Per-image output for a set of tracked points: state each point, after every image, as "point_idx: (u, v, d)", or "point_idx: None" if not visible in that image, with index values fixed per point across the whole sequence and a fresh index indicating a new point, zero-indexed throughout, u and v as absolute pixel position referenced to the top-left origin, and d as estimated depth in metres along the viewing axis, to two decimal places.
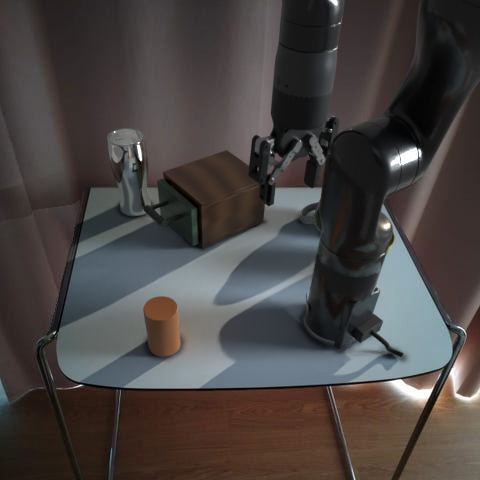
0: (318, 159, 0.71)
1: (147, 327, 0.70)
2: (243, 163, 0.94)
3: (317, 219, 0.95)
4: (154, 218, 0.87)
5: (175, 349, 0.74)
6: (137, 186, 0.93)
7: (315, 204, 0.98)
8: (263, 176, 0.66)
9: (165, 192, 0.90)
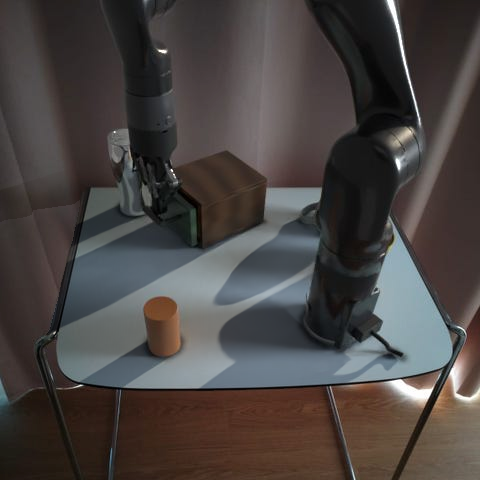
0: (153, 189, 0.83)
1: (147, 327, 0.70)
2: (243, 163, 0.94)
3: (317, 219, 0.95)
4: (153, 219, 0.87)
5: (175, 349, 0.74)
6: (138, 186, 0.93)
7: (315, 204, 0.98)
8: (144, 179, 0.85)
9: None
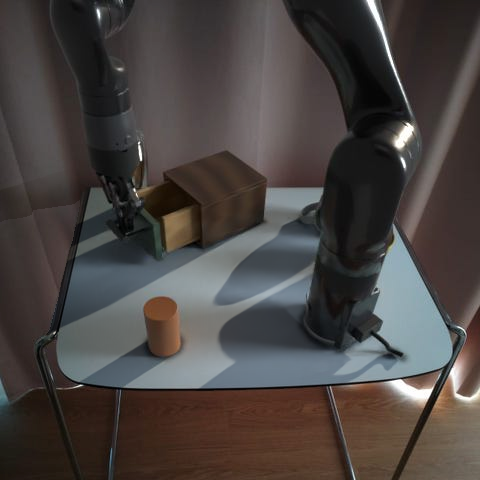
0: (117, 208, 0.81)
1: (147, 327, 0.70)
2: (243, 163, 0.94)
3: (317, 219, 0.95)
4: (115, 233, 0.84)
5: (175, 349, 0.74)
6: (138, 186, 0.93)
7: (315, 204, 0.98)
8: (108, 197, 0.83)
9: None
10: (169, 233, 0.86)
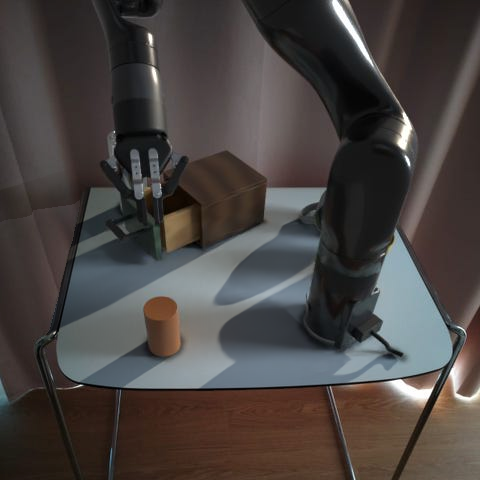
0: None
1: (147, 327, 0.70)
2: (243, 163, 0.94)
3: (317, 219, 0.95)
4: (115, 233, 0.84)
5: (175, 349, 0.74)
6: None
7: (315, 204, 0.98)
8: None
9: (128, 206, 0.86)
10: (169, 234, 0.86)
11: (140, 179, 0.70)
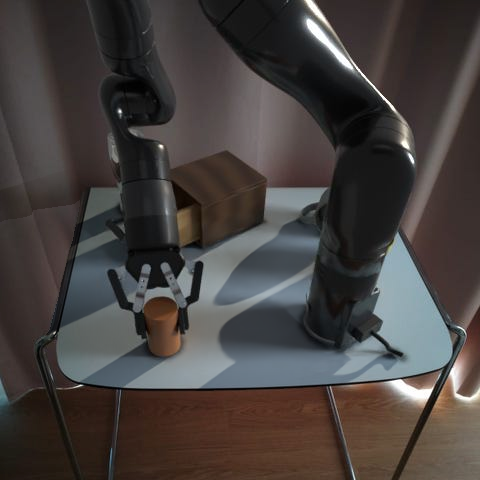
0: None
1: (147, 327, 0.70)
2: (243, 163, 0.94)
3: (317, 219, 0.95)
4: (115, 233, 0.84)
5: (175, 349, 0.74)
6: None
7: (315, 204, 0.98)
8: None
9: None
10: None
11: (143, 294, 0.69)
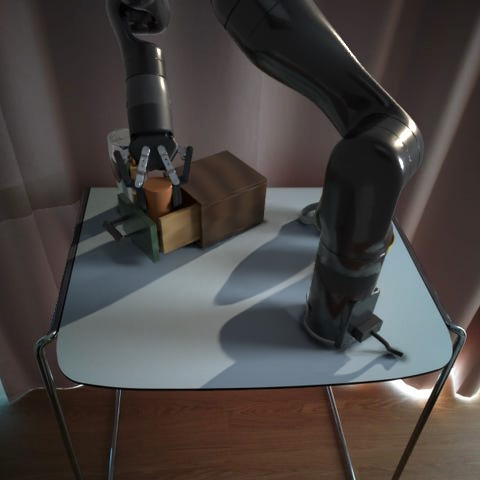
0: None
1: (146, 201, 0.84)
2: (243, 163, 0.94)
3: (317, 219, 0.95)
4: (112, 234, 0.83)
5: None
6: None
7: (315, 204, 0.98)
8: None
9: (125, 207, 0.86)
10: (166, 235, 0.85)
11: (143, 171, 0.83)
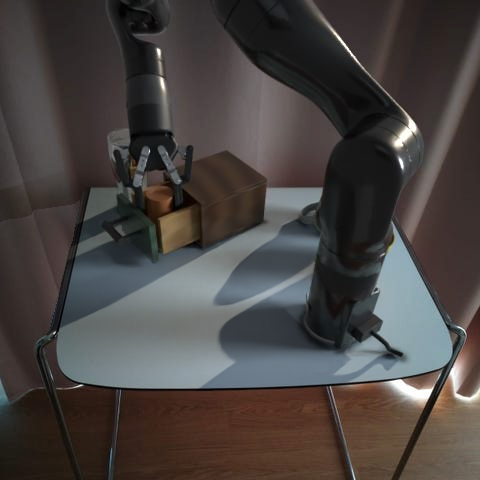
0: (141, 182, 0.86)
1: (148, 209, 0.86)
2: (243, 163, 0.94)
3: (317, 219, 0.95)
4: (111, 235, 0.83)
5: None
6: None
7: (315, 204, 0.98)
8: None
9: (124, 207, 0.86)
10: (165, 235, 0.85)
11: (142, 171, 0.83)
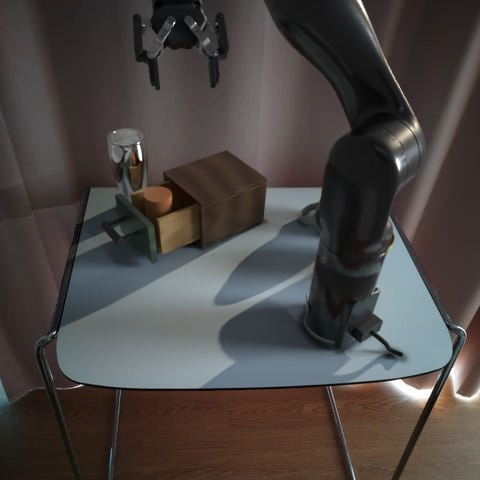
0: None
1: (147, 211, 0.86)
2: (243, 163, 0.94)
3: (317, 219, 0.95)
4: (110, 235, 0.83)
5: None
6: (138, 186, 0.93)
7: (315, 204, 0.98)
8: None
9: (123, 208, 0.86)
10: (164, 235, 0.85)
11: (161, 43, 0.73)
